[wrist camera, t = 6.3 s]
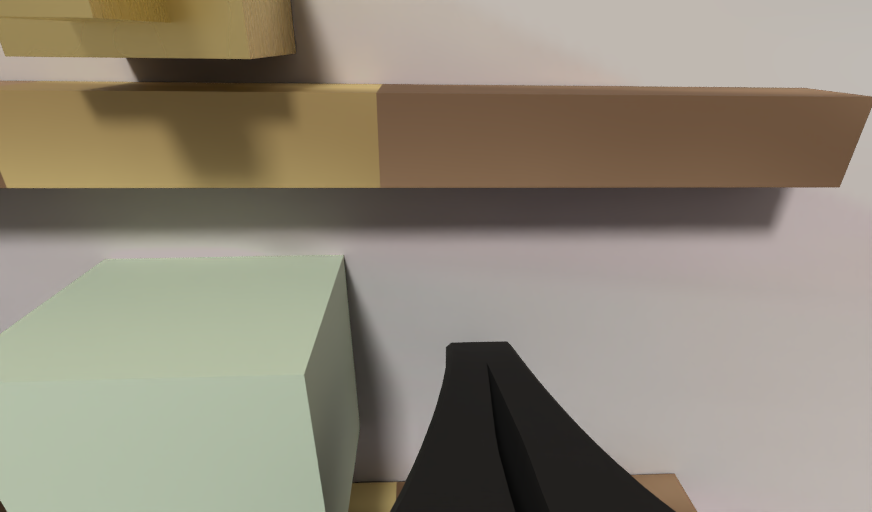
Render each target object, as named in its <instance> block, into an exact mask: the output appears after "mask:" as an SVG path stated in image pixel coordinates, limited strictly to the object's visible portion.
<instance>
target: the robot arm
mask: <svg viewBox="0 0 872 512" xmlns="http://www.w3.org/2000/svg"><path fill="white" fill-rule="evenodd" d="M390 512H676V511H674V510H673V509H672V508H670V507H669V506H668V505H667V504H665V503H664V502H663V501H661V500H660V499H659V498H658V497H656V496H655V495H654V494H653V493H651V492H650V491H649V490H648V489H646V488H645V487H644V486H643V485H642V484H640V483H639V482H638V481H637V480H636V479H635V478H634V477H632V476H631V475H630V474H629V473H628V472H627V471H625V470H624V469H623V468H622V467H621V466H620V465H619V464H617V463H616V462H615V461H614V460H613V459H612V458H611V457H610V456H609V455H608V454H607V453H606V452H605V451H604V450H603V449H601V448H600V447H599V446H598V445H597V444H596V443H595V442H594V441H593V440H592V439H591V438H590V437H589V436H588V435H587V434H586V433H585V432H584V431H583V430H582V429H581V428H580V427H579V426H578V424H577V423H576V422H575V421H574V420H573V419H572V418H571V417H570V416H569V415H568V414H567V413H566V412H565V410H564V409H563V408H562V407H561V406H560V405H559V404H558V403H557V401H556V400H555V399H554V398H553V397H552V396H551V395H550V394H549V392H548V391H547V390H546V389H545V388H544V387H543V385H542V384H541V383H540V382H539V381H538V379H537V378H536V377H535V376H534V374H533V373H532V372H531V371H530V369H529V368H528V367H527V366H526V364H525V363H524V362H523V361H522V359H521V358H520V357H519V355H518V354H517V353H516V351H515V350H514V349H513V347H512V346H511V345H510V344H509V343H508V342H463V343H451V344H449V345H448V346H447V347H446V369H445V375H444V379H443V384H442V388H441V391H440V395H439V398H438V402H437V405H436V409H435V412H434V415H433V418H432V420H431V423H430V425H429V428H428V431H427V433H426V436H425V439H424V441H423V444H422V446H421V449H420V451H419V453H418V456H417V458H416V460H415V463H414V465H413V467H412V469H411V471H410V473H409V475H408V478H407V480H406V482H405V484H404V486H403V488H402V490H401V492H400V494H399V496H398V497H397V499H396V501H395V503H394V505H393V507H392V509H391V510H390Z"/></svg>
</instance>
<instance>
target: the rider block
mask: <svg viewBox="0 0 872 512" xmlns="http://www.w3.org/2000/svg"><path fill="white" fill-rule="evenodd" d="M359 431H360V421H359V411H358V401H357V390H356V380H355V369H354V359H353V348H352V338H351V327H350V317H349V306H348V296H347V285H346V275H345V264H344V255H311V256H255V257H200V258H144V259H105V260H103V261H102V262H100V263H99V264H98V265H96V266H95V267H93V268H92V269H91V270H89V271H88V272H86V273H85V274H84V275H82V276H81V277H79V278H78V279H77V280H75V281H74V282H72V283H71V284H70V285H68V286H67V287H65V288H64V289H63V290H61V291H60V292H58V293H57V294H56V295H54V296H53V297H51V298H50V299H49V300H47V301H46V302H44V303H43V304H41V305H40V306H39V307H37V308H36V309H34V310H33V311H32V312H30V313H29V314H27V315H26V316H25V317H23V318H22V319H20V320H19V321H18V322H16V323H15V324H13V325H12V326H11V327H9V328H8V329H6V330H5V331H4V332H2V333H1V334H0V501H1V502H2V504H3V506H4V507H5V509H6V511H7V512H348V509H349V502H350V495H351V488H352V481H353V474H354V467H355V459H356V452H357V445H358V438H359Z"/></svg>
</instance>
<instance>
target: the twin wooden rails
mask: <svg viewBox="0 0 872 512" xmlns="http://www.w3.org/2000/svg"><path fill="white" fill-rule="evenodd" d="M871 108H872V97H871V96H863V95H856V94H848V93H839V92H832V91H823V90H816V89H808V88H747V87H636V86H525V85H413V84H301V83H189V82H77V81H0V188H625V187H840V185H841V182H842V180H843V177H844V175H845V172H846V170H847V168H848V165H849V162H850V160H851V158H852V155H853V152H854V150H855V148H856V145H857V143H858V140H859V138H860V135H861V133H862V130H863V128H864V125H865V123H866V120H867V118H868V115H869V113H870V110H871ZM631 476H632V477H634V478H635V479H636V480H637V481H638V482H639V483H640V484H642V485H643V486H644V487H645V488H646V489H648V490H649V491H650V492H651V493H653V494H654V495H655V496H656V497H658V498H659V499H660V500H661V501H663V502H664V503H665V504H667V505H668V506H669V507H670V508H672V509H673V510H674V511H676V512H697V511H696V509H695V507H694V506H693V504H692V502H691V500H690V499H689V497H688V495H687V494H686V492H685V490H684V489H683V487H682V485H681V484H680V482H679V480H678V479H677V477H676V475H675V474H651V475H631ZM404 484H405V482H376V483H352V488H351V495H350V502H349V509H348V512H390V510H391V509H392V507H393V505H394V503H395V501H396V499H397V497H398V496H399V494H400V492H401V490H402V488H403V486H404ZM0 512H7V511H6V509H5V507H4V506H3V504H2V502H1V501H0Z"/></svg>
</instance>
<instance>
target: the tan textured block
mask: <svg viewBox="0 0 872 512" xmlns="http://www.w3.org/2000/svg"><path fill="white" fill-rule="evenodd" d="M0 43H1V45H2V48H3V51H4V54H5V56H24V57H113V58H203V59H255V58H263V57H271V56H279V55H287V54H295V53H296V48H295V39H294V30H293V20H292V11H291V2H290V0H0Z"/></svg>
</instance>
